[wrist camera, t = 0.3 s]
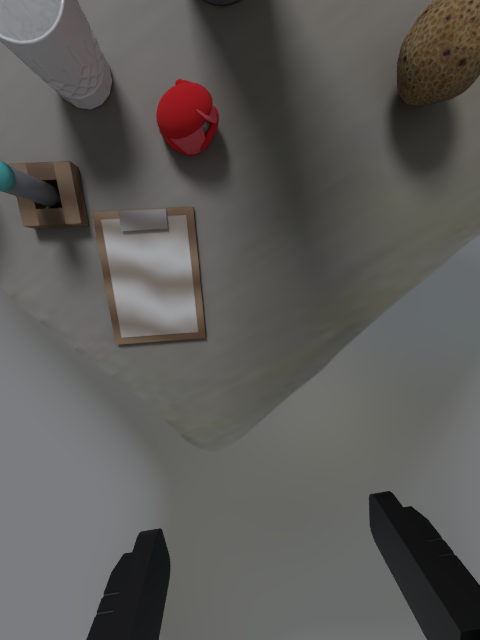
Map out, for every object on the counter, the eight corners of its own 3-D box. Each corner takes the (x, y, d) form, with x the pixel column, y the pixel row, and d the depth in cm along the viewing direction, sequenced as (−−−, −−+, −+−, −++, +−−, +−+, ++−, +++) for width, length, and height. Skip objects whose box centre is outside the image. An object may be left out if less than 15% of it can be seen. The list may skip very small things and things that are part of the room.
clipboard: (94, 213, 32) (90, 211, 31) (193, 207, 33) (192, 205, 32) (117, 343, 36) (114, 345, 35) (206, 336, 37) (205, 338, 36)
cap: (231, 89, 28) (182, 42, 24) (223, 136, 27) (172, 95, 23) (196, 133, 34) (153, 101, 30) (189, 172, 33) (144, 144, 29)
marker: (42, 187, 31) (-29, 157, 23) (64, 186, 32) (2, 155, 23) (47, 210, 32) (-20, 189, 23) (69, 209, 32) (9, 187, 23)
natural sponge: (373, 46, 30) (444, -59, 20) (444, 38, 30) (547, -69, 21) (374, 130, 32) (439, 72, 22) (440, 122, 32) (533, 61, 23)
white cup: (50, 110, 30) (-35, 34, 20) (46, 31, 28) (-50, -94, 18) (118, 120, 30) (66, 50, 21) (117, 42, 29) (61, -73, 19)
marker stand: (21, 169, 31) (8, 163, 29) (78, 167, 31) (69, 161, 29) (34, 228, 32) (23, 226, 31) (88, 225, 33) (81, 223, 31)
